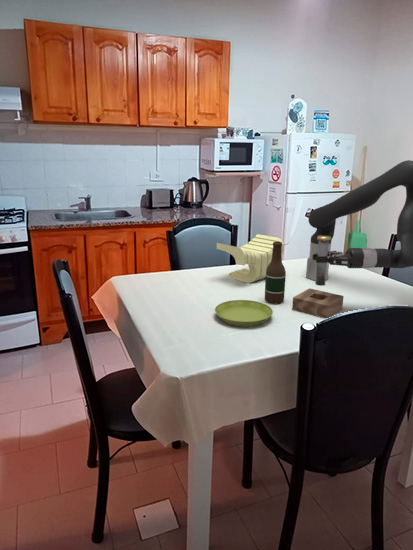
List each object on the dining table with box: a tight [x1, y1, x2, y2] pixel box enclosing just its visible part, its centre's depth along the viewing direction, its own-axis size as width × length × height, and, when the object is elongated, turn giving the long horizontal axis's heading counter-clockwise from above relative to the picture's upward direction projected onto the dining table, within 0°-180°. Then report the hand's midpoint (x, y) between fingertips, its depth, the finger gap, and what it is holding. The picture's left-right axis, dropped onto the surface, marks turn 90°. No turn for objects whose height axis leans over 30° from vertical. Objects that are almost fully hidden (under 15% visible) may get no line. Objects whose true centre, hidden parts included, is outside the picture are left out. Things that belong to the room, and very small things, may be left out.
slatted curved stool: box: [216, 233, 285, 284], centre depth 194 cm, size 30×16×18 cm, turn 136°
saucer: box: [214, 299, 274, 327], centre depth 149 cm, size 21×21×3 cm
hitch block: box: [291, 288, 344, 320], centre depth 157 cm, size 14×14×5 cm
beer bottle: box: [264, 242, 287, 305], centre depth 162 cm, size 8×8×24 cm
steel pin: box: [314, 235, 332, 287], centre depth 152 cm, size 5×5×18 cm
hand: (314, 258), depth 152 cm, fingers closed on steel pin, 3 cm apart
